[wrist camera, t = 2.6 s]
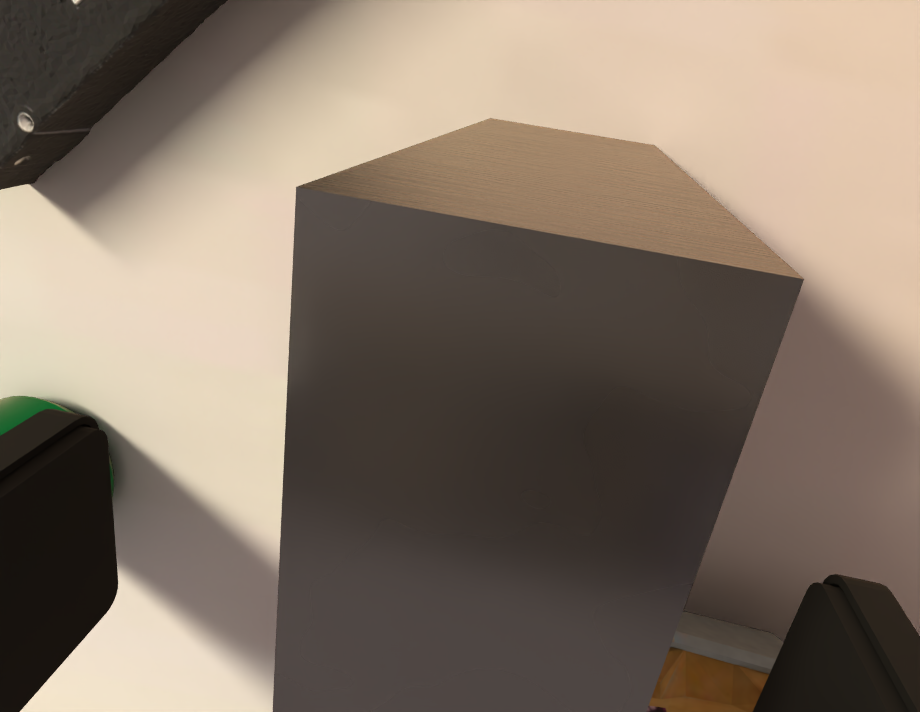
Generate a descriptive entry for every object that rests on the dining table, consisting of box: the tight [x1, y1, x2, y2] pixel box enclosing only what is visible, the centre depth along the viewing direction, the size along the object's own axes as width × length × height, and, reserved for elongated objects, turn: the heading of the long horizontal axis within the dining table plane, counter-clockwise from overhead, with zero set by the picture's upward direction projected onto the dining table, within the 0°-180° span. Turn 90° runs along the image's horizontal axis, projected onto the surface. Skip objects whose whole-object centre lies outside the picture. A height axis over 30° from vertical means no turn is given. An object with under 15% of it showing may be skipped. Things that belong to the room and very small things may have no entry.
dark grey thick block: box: [273, 118, 804, 712], centre depth 13 cm, size 4×10×12 cm, turn 172°
